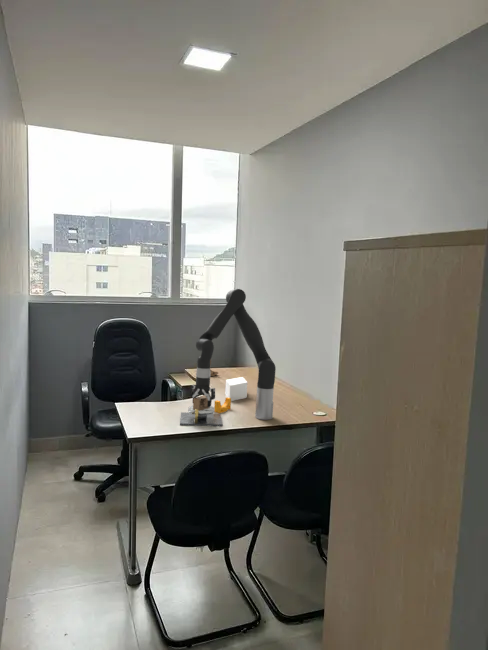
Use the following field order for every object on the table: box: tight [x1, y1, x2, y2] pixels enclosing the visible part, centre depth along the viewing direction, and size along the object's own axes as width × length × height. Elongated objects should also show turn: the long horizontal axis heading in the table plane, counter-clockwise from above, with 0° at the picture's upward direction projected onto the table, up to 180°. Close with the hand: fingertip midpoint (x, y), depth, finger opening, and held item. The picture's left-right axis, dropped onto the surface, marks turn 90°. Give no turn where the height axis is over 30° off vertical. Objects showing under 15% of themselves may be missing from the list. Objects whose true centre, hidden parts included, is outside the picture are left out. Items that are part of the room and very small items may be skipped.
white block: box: [224, 376, 248, 402], centre depth 321 cm, size 14×29×10 cm, turn 165°
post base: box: [179, 411, 224, 427], centre depth 265 cm, size 22×20×5 cm
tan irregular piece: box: [210, 361, 219, 377], centre depth 381 cm, size 15×12×15 cm
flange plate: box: [188, 395, 216, 415], centre depth 263 cm, size 17×14×8 cm
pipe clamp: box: [213, 397, 232, 414], centre depth 286 cm, size 12×4×6 cm, turn 144°
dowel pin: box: [195, 409, 198, 423], centre depth 257 cm, size 2×2×7 cm
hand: (201, 405), depth 265 cm, fingers open, 8 cm apart
